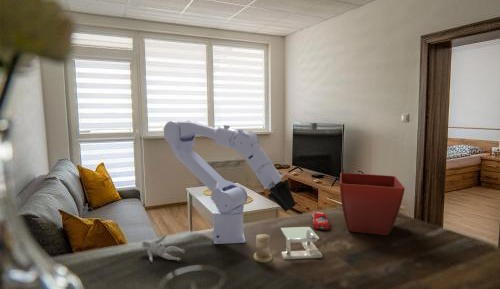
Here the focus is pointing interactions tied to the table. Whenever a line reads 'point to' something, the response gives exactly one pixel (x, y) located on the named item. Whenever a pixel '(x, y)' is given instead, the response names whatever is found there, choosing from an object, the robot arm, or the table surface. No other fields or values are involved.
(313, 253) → the wire frame
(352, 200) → the plant pot
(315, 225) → the race car
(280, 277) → the table surface
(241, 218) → the robot arm
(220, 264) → the table surface
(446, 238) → the table surface
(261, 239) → the ringed peg
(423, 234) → the table surface
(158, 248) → the soldier figure
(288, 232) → the sage mat
